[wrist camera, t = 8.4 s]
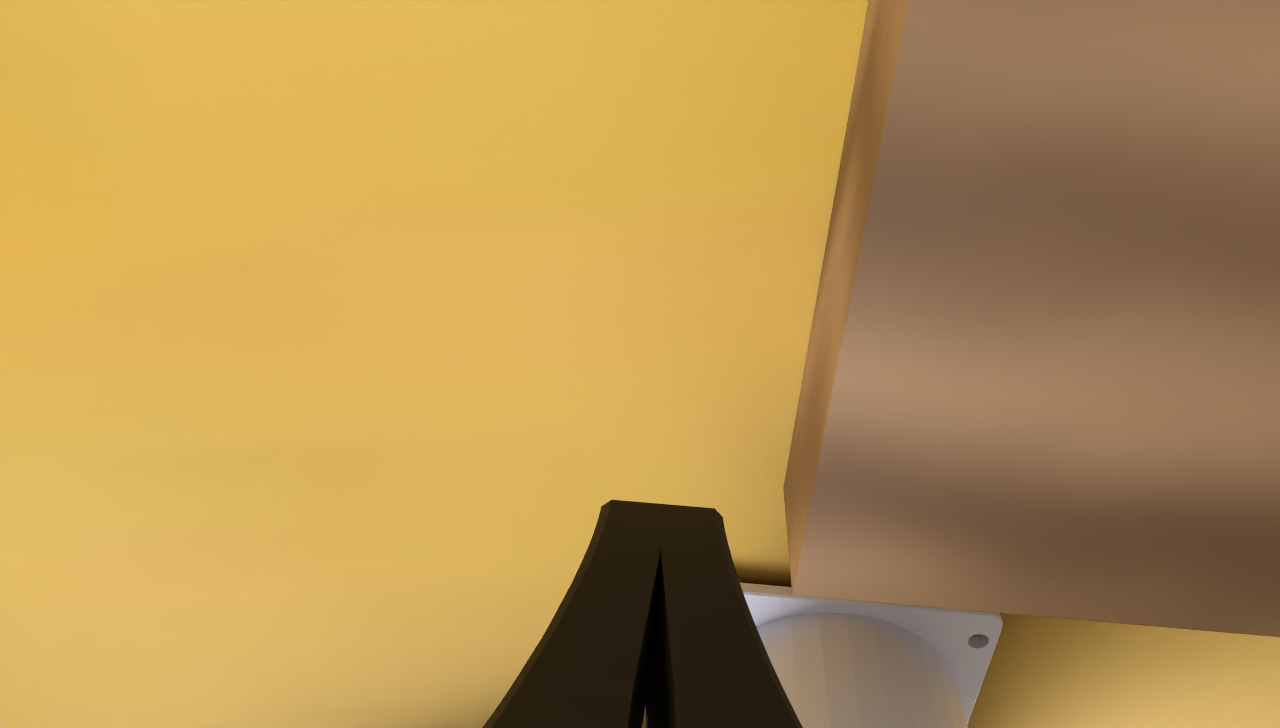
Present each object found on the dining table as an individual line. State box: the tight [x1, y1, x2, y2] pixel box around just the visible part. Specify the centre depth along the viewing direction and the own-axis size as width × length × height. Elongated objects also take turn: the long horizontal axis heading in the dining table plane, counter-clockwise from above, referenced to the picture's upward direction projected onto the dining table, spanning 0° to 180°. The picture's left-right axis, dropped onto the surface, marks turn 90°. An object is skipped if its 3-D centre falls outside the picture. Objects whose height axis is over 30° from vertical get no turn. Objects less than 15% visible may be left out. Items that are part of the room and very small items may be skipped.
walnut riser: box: [784, 0, 1280, 637], centre depth 19 cm, size 18×12×4 cm, turn 177°
